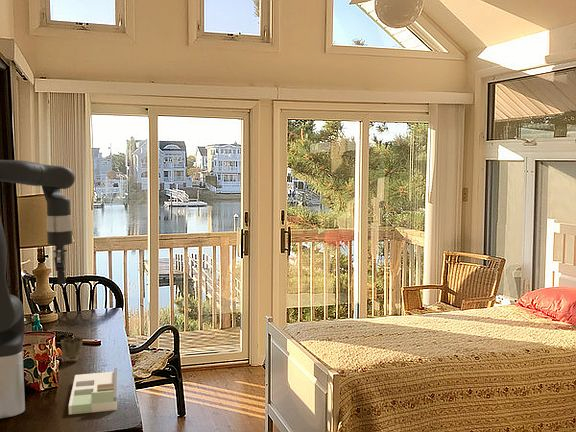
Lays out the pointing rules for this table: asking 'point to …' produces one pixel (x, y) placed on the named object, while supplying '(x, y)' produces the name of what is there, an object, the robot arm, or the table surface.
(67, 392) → the table surface
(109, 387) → the walnut block
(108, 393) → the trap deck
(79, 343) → the cup
